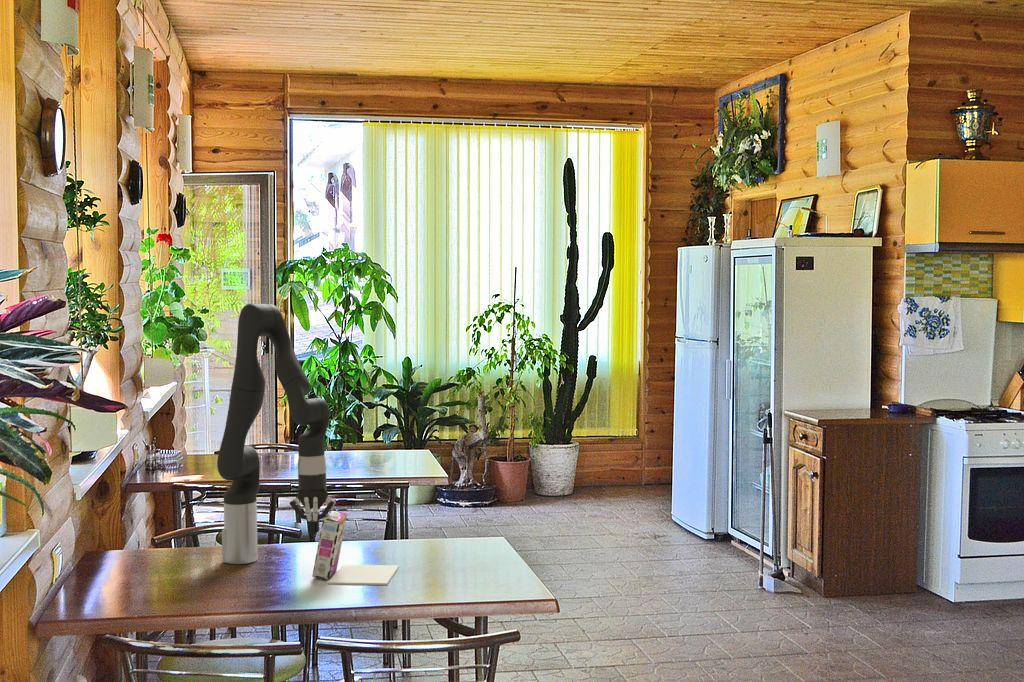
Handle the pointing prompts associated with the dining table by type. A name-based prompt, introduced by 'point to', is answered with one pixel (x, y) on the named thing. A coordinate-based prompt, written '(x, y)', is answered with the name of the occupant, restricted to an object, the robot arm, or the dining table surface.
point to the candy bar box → (329, 545)
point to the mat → (364, 574)
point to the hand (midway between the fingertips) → (313, 534)
